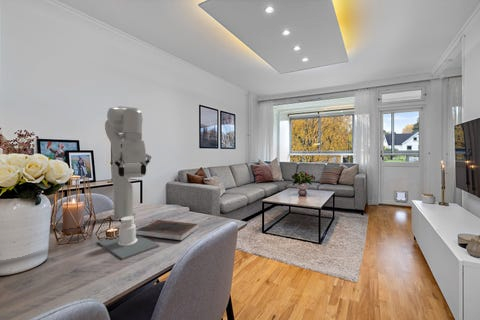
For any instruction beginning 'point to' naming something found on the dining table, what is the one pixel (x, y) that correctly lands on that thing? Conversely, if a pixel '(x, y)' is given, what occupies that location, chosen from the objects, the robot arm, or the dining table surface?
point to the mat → (128, 247)
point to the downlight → (127, 231)
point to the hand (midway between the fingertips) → (132, 175)
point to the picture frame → (167, 229)
